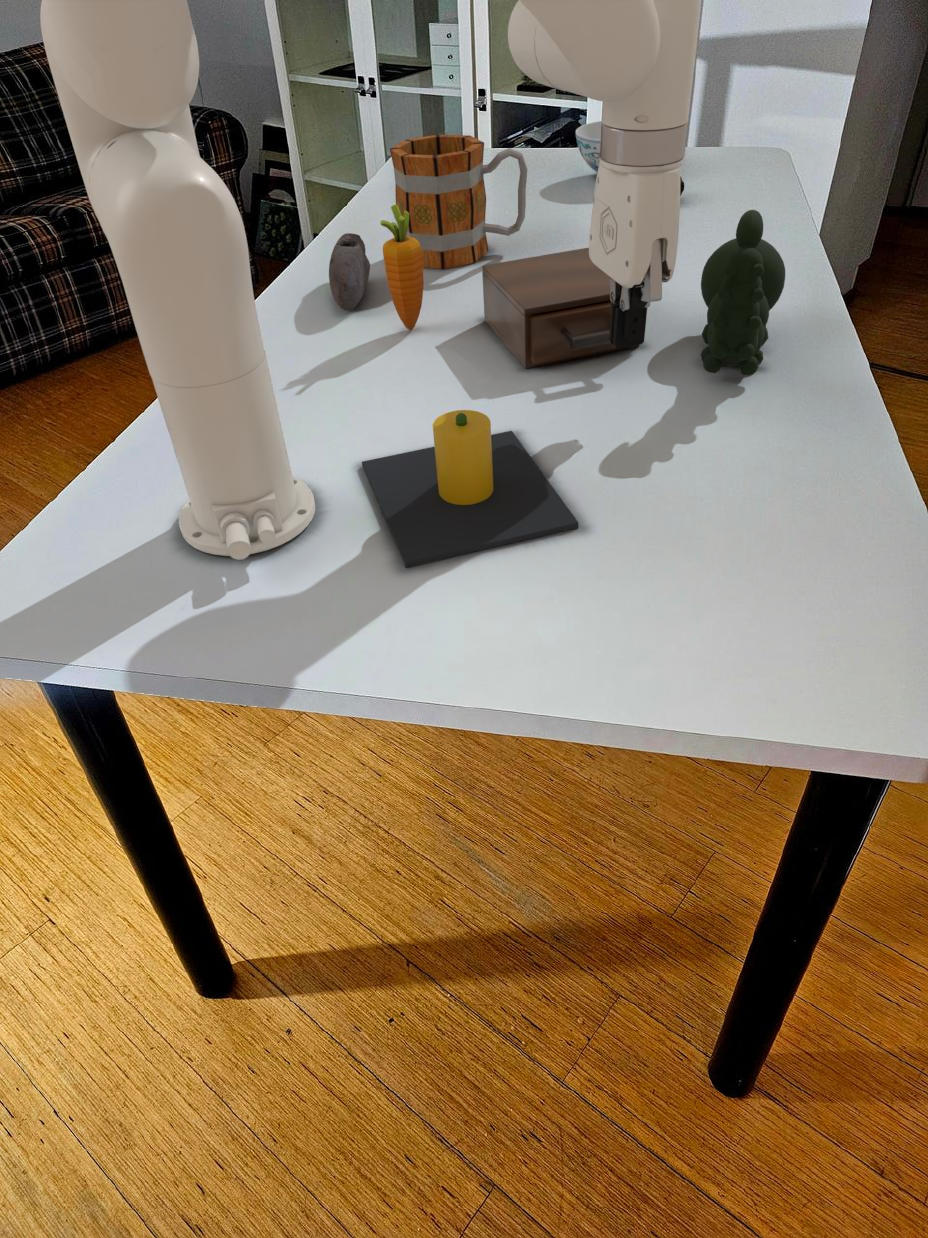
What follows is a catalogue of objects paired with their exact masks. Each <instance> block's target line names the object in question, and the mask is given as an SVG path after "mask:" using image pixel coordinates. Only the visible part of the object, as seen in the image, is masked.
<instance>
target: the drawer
mask: <svg viewBox="0 0 928 1238" xmlns="http://www.w3.org/2000/svg"><path fill="white" fill-rule="evenodd" d="M611 304H616V303H612V302H611V300H610V301H605V302H599V303H594V304H588V305H583V306H577V307H572V308H566V309H561V310H555V311H550V312H544V313H539V314H533V315H531V316H530V361H531V362H532V363H533V364H539V363H544V362H550V361H555V360H560V359H565V358H570V357H575V356H581V355H586V354H591V353H596V352H601V351H606V350H612V349H617V348H616V347H615V346H614V345H613V344H612V343H611V342H610V341H609V331H610V316H611Z"/></svg>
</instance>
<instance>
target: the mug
mask: <svg viewBox="0 0 928 1238" xmlns="http://www.w3.org/2000/svg"><path fill="white" fill-rule="evenodd" d="M389 151H390V156H391V157H390V158H391V160H392V165H393V173H394V174H393V175H394V182H395V185H394V186H395V205H397V206H398V208H399V210H400V212H401V215H402V217H404V211H407V212H408V213H409V224H408V230H407V234H406V236H407V237H413V238H415V239H417V240H418V242H419V244H420V246H421V249H422V260H423V269H424V268H425V269H435V270H436V269H438V270H446V269H452V268H456V267H461V266H466V265H470V264H476V263H477V262H478V261H479V260H481V258H483V257H484V256H485V255H486V254H487V253H488V252H489V246H488V239H487V233H490V234H496V235H497V234H498V235H501V236H507V237H509V236H511V235H514V234H516V233H518V232H519V231H520V230H521V227H522V225H523V223H524V221H525V218H526V210H527V209H526V207H527V180H528V171H529V170H528V166H527V164H526V163H527V162H526V161H525V157H524V154H523V153H522V152H520V151H517V150H515V149H513V148H510V147H508V148H506V149H504V150H501V151H500V152H497V154H496V155H495V156H494V158H492V160H491V161H490V162H489V163H488V164H484V153H485V152H484V151H485V142H484V141H482V140H480V139H479V138H476V137H474V136H473V135H469V134H432V135H427V136H421V137H414V138H408V139H404V140H403V141H401V142H399V143H397V144H396V145H394V146H392V147H390V148H389ZM509 157H511V158H513V159H516V160H517V162H518V167H519V179H518V186H517V216H516V220H515V222H514V224H512V225H510V226H508V227H506V226H503V225H500V224H495V223H486V211H487V194H486V193H487V192H486V185H485V179H484V175H486V174H490V173H493V171H495V170H496V169H497V168H498V166H499V165H500V164H501V163H502V161H503V160H505V159H508V158H509Z"/></svg>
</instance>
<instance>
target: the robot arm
mask: <svg viewBox="0 0 928 1238" xmlns="http://www.w3.org/2000/svg"><path fill="white" fill-rule="evenodd" d="M39 11H40V13H39V14H40V17H39V18H40V19H39V21H40V23H39V24H40V31H41V37H42V41H43V46H44V50H45V51H44V52H45V54H46V58H47V62H48V65H49V70H50V72H51V75H52V79H53V84H54V86H55V89H56V93H57V97H58V100H59V102H60V107H61V110H62V112H63V118H64V120H65V123H66V127H67V130H68V134H69V137H70V141H71V143H72V148H73V150H74V154H75V157H76V161H77V164H78V169H79V171H80V175H81V177H82V180H83V184H84V187H85V191H86V193H87V196H88V200H89V203H90V205H91V207H92V210H93V212H94V214H95V217H96V218H97V220H98V222H99V225H100V227H101V230H102V231H103V233H104V235H105V237H106V239H107V242H108V244H109V247H110V249H111V253H112V256H113V259H114V261H115V264H116V267H117V270H118V273H119V277H120V280H121V281H122V282H121V283H122V286H123V289H124V293H125V296H126V300H127V303H128V307H129V310H130V314H131V317H132V321H133V324H134V327H135V331H136V333H137V337H138V340H139V341H138V342H139V345H140V347H141V351H142V355H143V357H144V360H145V363H146V366H147V369H148V373H149V376H150V378H151V380H152V384H153V387H154V390H155V393H156V397H157V399H158V403H159V406H160V408H161V409H160V410H161V413H162V416H163V419H164V423H165V425H166V429H167V433H168V436H169V438H170V442H171V445H172V448H173V451H174V454H175V455H174V456H175V459H176V460H177V464H178V467H179V470H180V474H181V477H182V480H183V483H184V486H185V490H186V493H187V496H188V500H187V502H185V504H183V507H182V508H181V510H180V511H179V516H178V526H179V530H180V532H181V535H182V537H183V539H184V540H185V542H186V543H187V544H189V545H190V546H191V547H193V549H196V550H199V551H200V552H203V553H207V554H209V555H215V556H223V557H230V558H232V559H234V560H237V561H239V560H240V561H241V560H245V559H247V558H248V557H249V556H250V555H254V554H258V553H262V552H267V551H269V550H271V549H274V548H277V547H280V546H282V545H284V544H285V543H288V542H289V541H291V540H293V539H294V538H295V537H297V536H298V535H300V534H301V533H302V532H303V531H304V530H305V529H306V528H307V527H308V526H309V524H311V522H312V521H313V519H314V516H315V513H316V501H315V497H314V493H313V491H312V489H311V488H310V486H308V485H307V484H306V483H305V482H303V481H302V480H300V479H298V478H297V477H294V476H293V472H292V469H291V464H290V459H289V455H288V450H287V445H286V441H285V440H286V439H285V437H284V431H283V426H282V422H281V418H280V412H279V408H278V404H277V399H276V395H275V390H274V386H273V381H272V375H271V371H270V368H269V363H268V362H269V361H268V358H267V353H266V349H265V346H264V345H265V344H264V341H263V336H262V331H261V327H260V323H259V322H260V321H259V318H258V316H259V315H258V311H257V307H256V301H255V300H256V299H255V295H254V289H253V281H252V271H251V263H250V253H249V246H248V240H247V235H246V230H245V225H244V221H243V218H242V216H241V212H240V211H239V208H238V205H237V203H236V200H235V198H234V197H233V195H232V193H231V191H230V190H229V187H228V186H227V185H226V184H225V182H224V180H223V179H222V177H220V176H219V175H218V173H217V172H216V171H215V170H214V168H212V167H211V166H210V165H209V164H208V163H207V162H206V161H205V160H204V159H203V158H202V157H201V155H200V151H199V147H198V141H197V137H196V131H195V128H194V123H193V118H192V112H191V108H190V103H191V102H192V100H193V98H194V96H195V93H196V91H197V87H198V82H199V78H200V77H199V76H200V55H199V54H200V53H199V46H198V40H197V36H196V32H195V28H194V24H193V20H192V18H191V17H192V16H191V11H190V9H189V4H188V0H41V3H40V10H39ZM701 11H702V0H517V2H516V3H515V5H514V6H513V9H512V12H511V14H510V17H509V20H508V26H507V43H508V48H509V52H510V55H511V57H512V59H513V61H514V63H515V64H516V66H517V67H518V68H519V70H520V71H521V73H523V74H524V75H525V76H527V77H528V78H529V79H531V80H532V81H534V82H535V83H538V84H541V85H543V86H545V87H549V88H552V89H555V90H559V91H563V92H568V93H570V94H571V93H572V94H575V95H577V96H578V95H579V96H580V97H581V96H582V97H585V98H588V99H591V100H594V101H598V102H602V105H601V106H602V107H601V121H602V123H601V140H600V158H599V168H598V173H597V172H596V173H597V174H596V179H595V184H594V191H593V199H592V209H591V220H590V227H589V228H590V230H589V242H588V248H589V257H590V259H591V261H592V262H593V263H594V264H595V265H596V266H597V267H598V268H599V269H601V270H602V271H603V272H604V273H606V274H607V275H608V276H609V278H610V300H611V302H612V303H616V304H611V316H610V331H609V341H610V342H611V343H612V344H613V345H614V346H615V347H616V348H622V347H628V346H634V345H639V346H641V345H642V344H644V342H645V337H646V336H645V335H646V325H647V316H648V315H647V313H648V308H649V307H650V306H651V303H652V302H658V301H659V302H660V301H661V300H662V299H663V283H668V282H669V281H671V279H672V278H673V275H674V272H675V268H676V261H677V254H678V246H679V245H678V244H679V233H680V232H679V231H680V215H681V196H680V176H681V168H680V167H683V165H684V163H685V155H686V145H687V137H688V126H689V117H690V107H691V100H692V99H691V98H692V90H693V81H694V73H695V64H696V55H697V47H698V37H699V28H700V21H701V20H700V19H701ZM640 286H641V287H640Z"/></svg>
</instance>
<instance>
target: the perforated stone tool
mask: <svg viewBox="0 0 928 1238" xmlns="http://www.w3.org/2000/svg"><path fill="white" fill-rule="evenodd" d="M370 270H371V264H370V260H369V259H368V257H367V255H366V244H365V242H364V240H363V239H362V238H361V236H360V235H359V234H357V233H349V232H347V233H343V234H342V235H341V236H340V237H339V238H338V239H337V241H336V243H335V244H334V247H333V249H332V252H331V255H330V259H329V264H328V282H329V287H330V292H331V295H332V297H333V299H334V301H335V302H336V305H337V306H338V308H340V310H342V311H343V312H349V311H351V310H353V309H354V308H356V307H357V306H358V305H359V303H360V302H361V300H362V298H363V297H364V294H365V292H366V289H367V285H368V282H369V279H370Z"/></svg>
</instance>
